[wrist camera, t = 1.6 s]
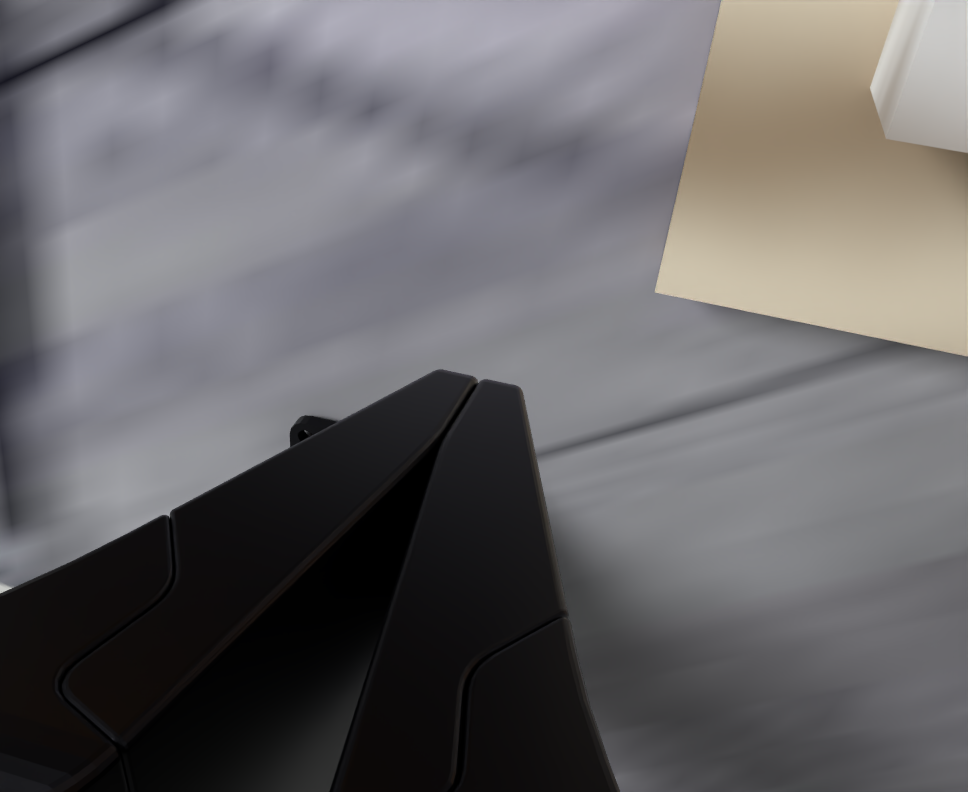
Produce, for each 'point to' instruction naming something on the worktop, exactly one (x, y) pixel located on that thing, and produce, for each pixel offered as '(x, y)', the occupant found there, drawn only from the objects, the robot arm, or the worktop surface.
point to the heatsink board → (831, 169)
